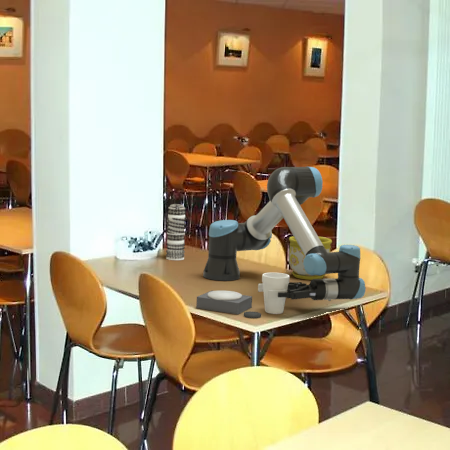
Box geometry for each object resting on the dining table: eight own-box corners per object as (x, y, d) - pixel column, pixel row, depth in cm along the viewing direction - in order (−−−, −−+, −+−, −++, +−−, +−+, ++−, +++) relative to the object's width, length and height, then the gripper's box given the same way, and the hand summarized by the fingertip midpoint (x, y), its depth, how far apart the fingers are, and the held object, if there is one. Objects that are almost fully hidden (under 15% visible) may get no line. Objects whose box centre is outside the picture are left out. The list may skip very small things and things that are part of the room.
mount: (196, 307, 289) (196, 294, 288) (211, 301, 300) (211, 288, 299) (237, 314, 282) (238, 300, 282) (251, 307, 293) (252, 294, 292)
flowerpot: (278, 275, 349) (280, 237, 347) (303, 270, 362) (306, 234, 360) (313, 283, 337) (315, 244, 335) (337, 277, 351) (340, 239, 348)
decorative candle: (189, 258, 380) (191, 204, 376) (177, 261, 372) (179, 206, 368) (172, 255, 384) (174, 202, 380) (161, 258, 376) (162, 204, 373)
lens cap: (240, 317, 280) (240, 314, 280) (247, 313, 285) (248, 310, 285) (256, 320, 277) (256, 316, 277) (263, 316, 282) (264, 313, 282)
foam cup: (285, 316, 283) (287, 279, 281) (258, 313, 285) (260, 276, 283) (288, 309, 292) (290, 273, 290) (263, 307, 294) (264, 271, 292)
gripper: (334, 307, 283) (273, 309, 276) (310, 292, 303) (252, 294, 297) (336, 286, 281) (274, 287, 275) (311, 272, 302) (253, 273, 296)
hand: (263, 291), depth 286 cm, fingers closed on foam cup, 9 cm apart
